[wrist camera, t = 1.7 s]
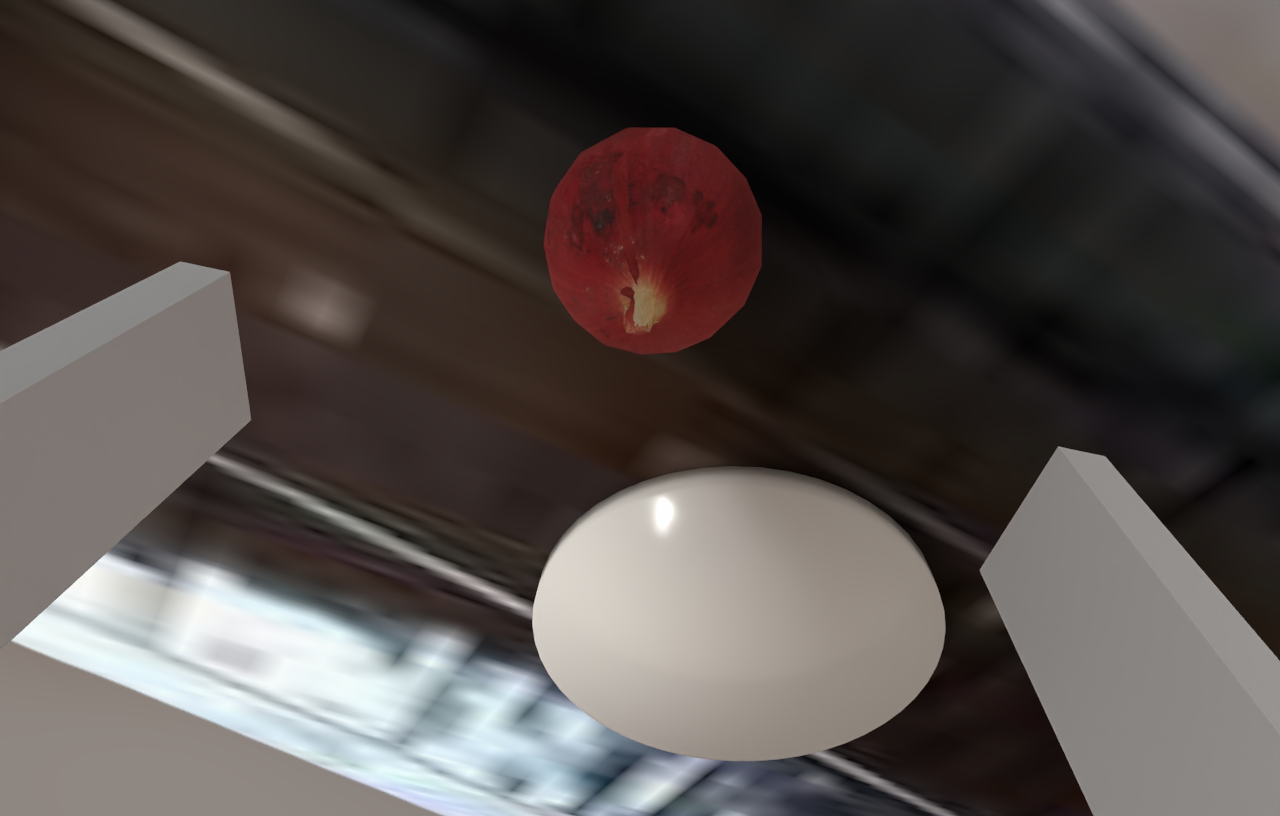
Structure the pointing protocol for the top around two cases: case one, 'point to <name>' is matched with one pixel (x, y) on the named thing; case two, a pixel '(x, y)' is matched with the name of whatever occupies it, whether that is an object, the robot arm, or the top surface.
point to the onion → (653, 240)
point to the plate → (738, 614)
